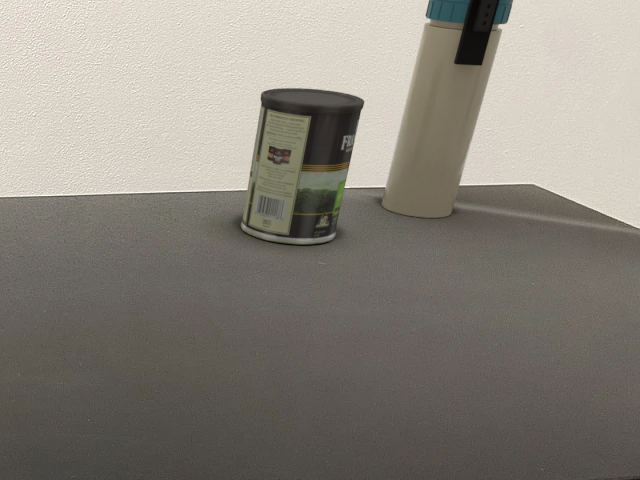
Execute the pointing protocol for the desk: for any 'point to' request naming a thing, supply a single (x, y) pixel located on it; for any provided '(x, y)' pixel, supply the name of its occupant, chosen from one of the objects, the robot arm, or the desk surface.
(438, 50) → the jar
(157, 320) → the desk surface
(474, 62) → the robot arm
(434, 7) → the lid
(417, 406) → the desk surface
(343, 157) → the coffee can
